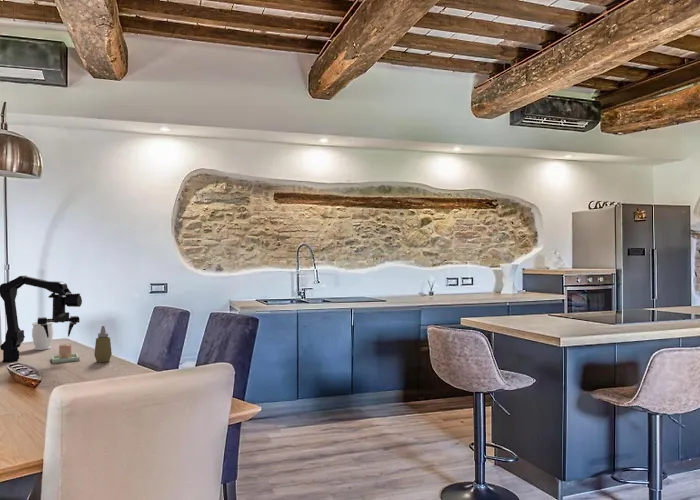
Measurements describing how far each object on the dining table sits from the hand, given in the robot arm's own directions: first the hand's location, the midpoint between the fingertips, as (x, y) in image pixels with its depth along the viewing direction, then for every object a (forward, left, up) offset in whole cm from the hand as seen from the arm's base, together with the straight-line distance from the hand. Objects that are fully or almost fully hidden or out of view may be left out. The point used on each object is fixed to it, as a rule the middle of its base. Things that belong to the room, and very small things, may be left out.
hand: (58, 337), depth 275 cm
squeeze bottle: (+19, -15, -12) cm, 27 cm away
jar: (-6, +41, -12) cm, 43 cm away
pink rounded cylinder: (+3, -1, -11) cm, 12 cm away
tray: (+3, -1, -12) cm, 12 cm away
